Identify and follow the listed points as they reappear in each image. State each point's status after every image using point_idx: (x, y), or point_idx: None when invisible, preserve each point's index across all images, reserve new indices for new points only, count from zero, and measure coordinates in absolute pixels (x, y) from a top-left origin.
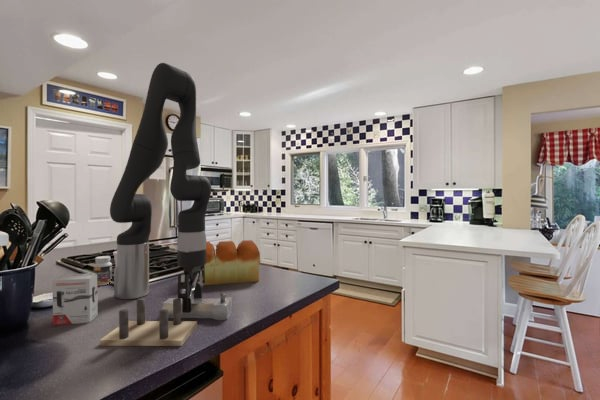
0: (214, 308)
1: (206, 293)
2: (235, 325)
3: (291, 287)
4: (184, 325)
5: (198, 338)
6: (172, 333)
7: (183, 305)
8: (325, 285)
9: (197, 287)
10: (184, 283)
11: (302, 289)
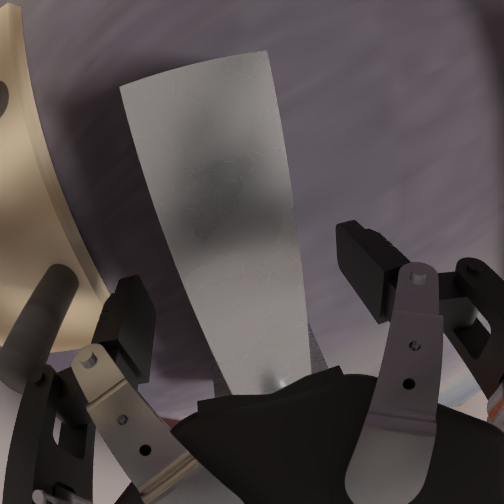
0: (215, 390)
1: (498, 154)
2: (192, 407)
3: (468, 370)
4: (68, 318)
5: (68, 364)
6: (9, 313)
7: (100, 325)
8: (452, 405)
9: (390, 300)
10: (146, 441)
11: (447, 392)
